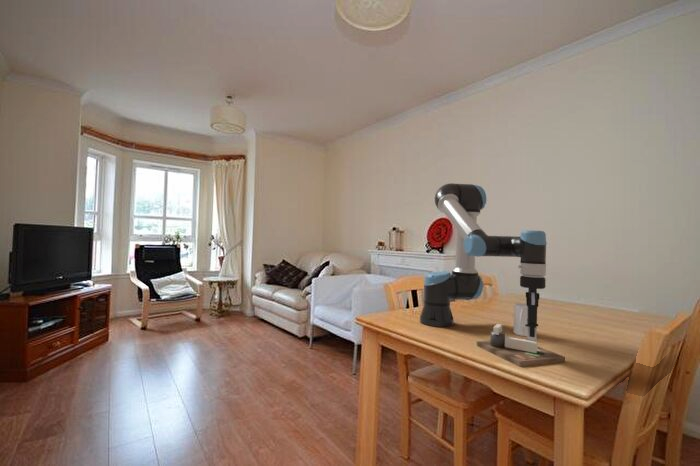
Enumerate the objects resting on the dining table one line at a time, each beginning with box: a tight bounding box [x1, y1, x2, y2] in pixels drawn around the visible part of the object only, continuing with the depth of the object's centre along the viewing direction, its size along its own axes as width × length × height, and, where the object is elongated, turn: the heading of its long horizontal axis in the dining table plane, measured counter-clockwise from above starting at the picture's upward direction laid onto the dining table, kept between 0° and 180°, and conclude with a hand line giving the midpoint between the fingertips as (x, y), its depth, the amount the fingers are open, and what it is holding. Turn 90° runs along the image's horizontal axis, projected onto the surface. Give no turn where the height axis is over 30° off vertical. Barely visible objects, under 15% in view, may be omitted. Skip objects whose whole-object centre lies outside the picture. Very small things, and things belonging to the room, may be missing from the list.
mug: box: [512, 302, 528, 337], centre depth 133 cm, size 12×8×12 cm
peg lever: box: [489, 323, 545, 355], centre depth 109 cm, size 16×6×7 cm, turn 54°
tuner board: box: [476, 339, 566, 367], centre depth 110 cm, size 20×18×2 cm
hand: (531, 345), depth 109 cm, fingers closed
